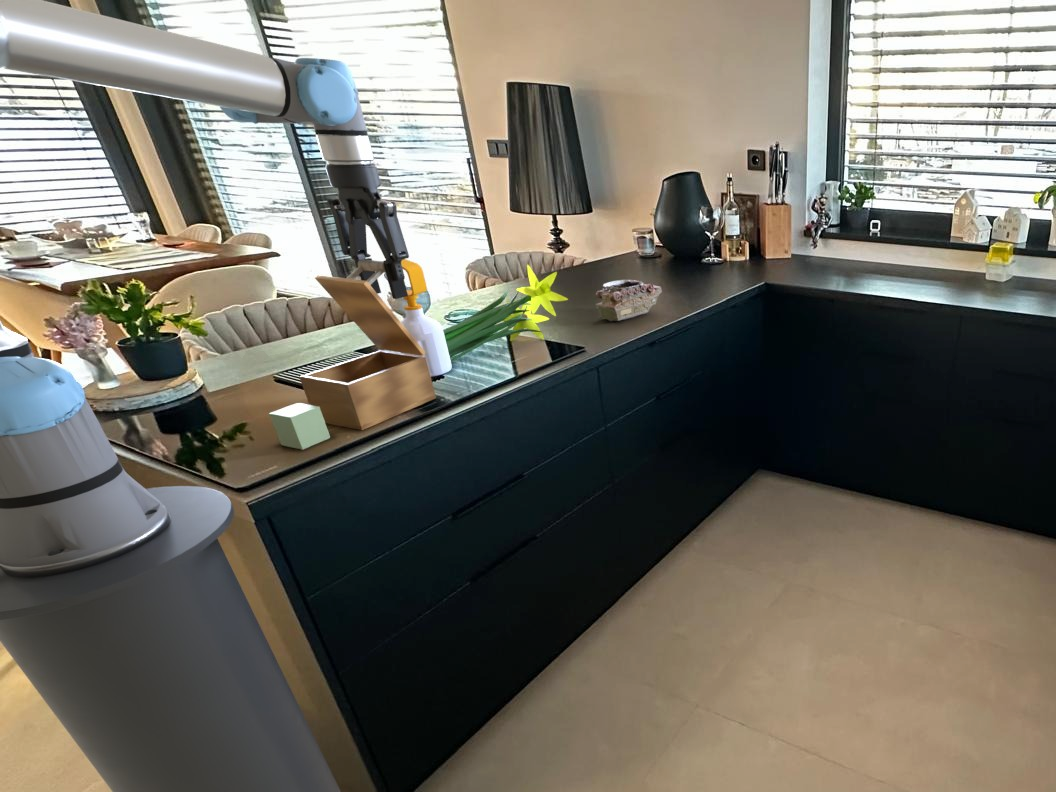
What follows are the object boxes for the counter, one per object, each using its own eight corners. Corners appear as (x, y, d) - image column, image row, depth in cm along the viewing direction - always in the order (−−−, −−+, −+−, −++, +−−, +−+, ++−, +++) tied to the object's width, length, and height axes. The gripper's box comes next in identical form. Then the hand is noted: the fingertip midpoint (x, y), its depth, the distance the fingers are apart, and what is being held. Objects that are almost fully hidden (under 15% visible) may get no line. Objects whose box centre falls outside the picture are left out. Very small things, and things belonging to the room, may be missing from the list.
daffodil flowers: (421, 354, 153) (543, 295, 172) (457, 394, 151) (578, 329, 169) (402, 308, 139) (538, 249, 157) (442, 351, 137) (576, 285, 155)
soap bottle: (424, 363, 145) (395, 254, 134) (460, 366, 144) (434, 256, 133) (397, 376, 137) (364, 262, 126) (435, 379, 136) (405, 264, 125)
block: (302, 449, 105) (290, 417, 103) (281, 445, 107) (268, 413, 104) (330, 437, 110) (319, 406, 107) (309, 433, 111) (298, 402, 108)
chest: (362, 430, 113) (347, 384, 109) (315, 421, 116) (298, 376, 112) (436, 398, 127) (425, 356, 123) (392, 390, 130) (380, 349, 126)
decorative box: (587, 316, 185) (582, 283, 180) (642, 305, 198) (640, 274, 194) (613, 325, 177) (609, 290, 173) (669, 312, 191) (666, 280, 186)
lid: (363, 283, 109) (394, 254, 113) (314, 278, 112) (346, 250, 116) (423, 355, 122) (449, 327, 127) (378, 349, 125) (404, 321, 130)
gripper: (410, 164, 109) (441, 296, 120) (330, 160, 115) (366, 287, 125) (372, 165, 103) (409, 304, 113) (289, 161, 108) (331, 295, 119)
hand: (386, 295), depth 119 cm, fingers closed on lid, 6 cm apart
